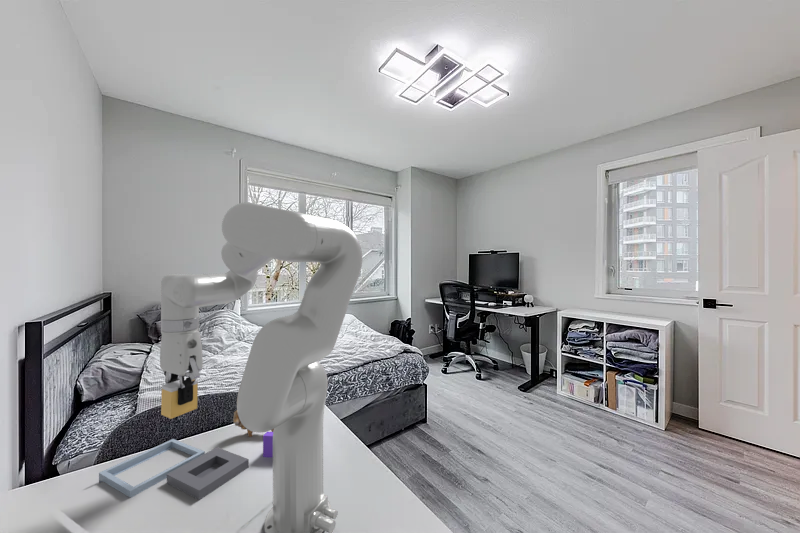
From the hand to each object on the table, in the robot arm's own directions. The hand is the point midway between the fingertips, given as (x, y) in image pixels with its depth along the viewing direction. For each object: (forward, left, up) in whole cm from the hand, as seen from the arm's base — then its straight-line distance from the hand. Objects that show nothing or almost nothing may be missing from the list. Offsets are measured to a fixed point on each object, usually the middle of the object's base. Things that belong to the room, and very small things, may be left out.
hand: (179, 399), depth 77 cm
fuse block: (-8, -2, -18) cm, 20 cm away
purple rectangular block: (-15, -19, -19) cm, 31 cm away
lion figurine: (-4, -20, -18) cm, 27 cm away
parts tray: (+7, +2, -18) cm, 20 cm away
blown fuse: (0, 0, -3) cm, 3 cm away
